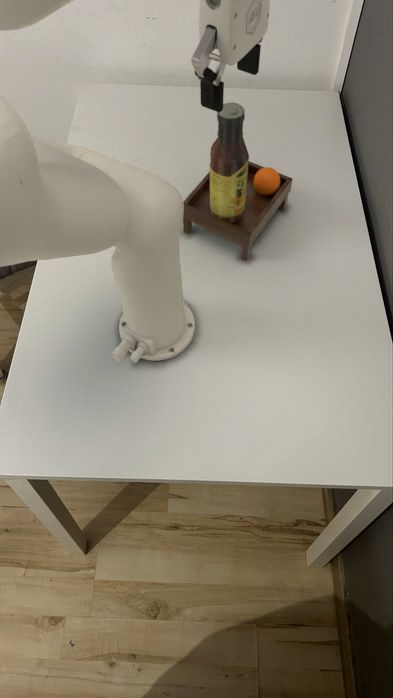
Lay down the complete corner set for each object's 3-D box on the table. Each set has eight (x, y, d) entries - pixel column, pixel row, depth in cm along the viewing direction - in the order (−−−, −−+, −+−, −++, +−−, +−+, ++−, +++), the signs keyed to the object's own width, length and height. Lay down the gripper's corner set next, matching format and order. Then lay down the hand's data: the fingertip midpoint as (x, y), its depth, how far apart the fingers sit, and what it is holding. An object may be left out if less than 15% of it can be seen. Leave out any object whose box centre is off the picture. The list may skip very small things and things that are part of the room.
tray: (247, 262, 90) (249, 235, 84) (182, 232, 94) (180, 205, 88) (287, 206, 97) (292, 178, 91) (225, 181, 101) (226, 152, 94)
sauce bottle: (241, 227, 88) (248, 128, 70) (206, 223, 88) (205, 124, 71) (247, 201, 91) (255, 100, 73) (213, 197, 92) (213, 95, 74)
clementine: (270, 204, 90) (273, 184, 86) (247, 195, 92) (249, 174, 87) (283, 188, 92) (286, 167, 88) (260, 179, 93) (262, 158, 89)
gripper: (225, -18, 49) (221, 133, 64) (302, -84, 57) (283, 65, 71) (162, -36, 52) (173, 114, 66) (245, -97, 59) (237, 51, 74)
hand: (230, 89), depth 69 cm, fingers open, 9 cm apart
